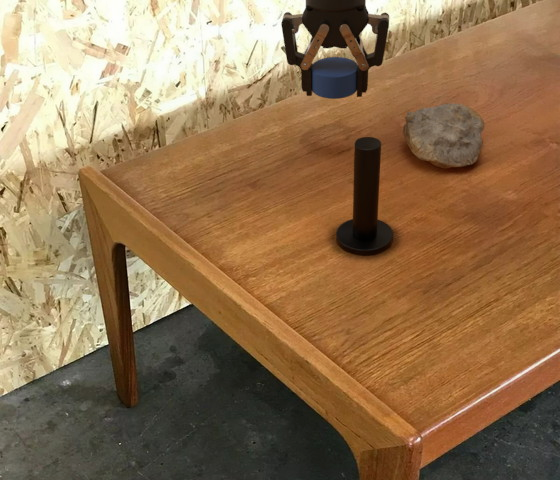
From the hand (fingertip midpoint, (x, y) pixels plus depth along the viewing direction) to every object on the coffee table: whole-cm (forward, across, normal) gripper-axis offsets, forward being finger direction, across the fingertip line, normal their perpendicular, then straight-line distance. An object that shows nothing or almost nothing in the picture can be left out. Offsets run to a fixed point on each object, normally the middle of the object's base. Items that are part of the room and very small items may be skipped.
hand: (334, 93), depth 108 cm
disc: (-1, 0, 0) cm, 1 cm away
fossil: (+9, +15, 0) cm, 18 cm away
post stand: (+9, +5, -21) cm, 24 cm away
